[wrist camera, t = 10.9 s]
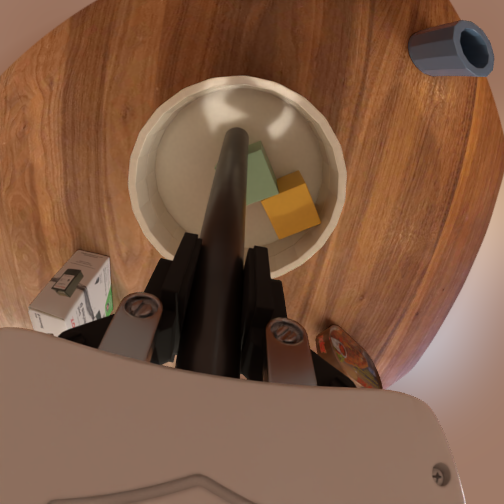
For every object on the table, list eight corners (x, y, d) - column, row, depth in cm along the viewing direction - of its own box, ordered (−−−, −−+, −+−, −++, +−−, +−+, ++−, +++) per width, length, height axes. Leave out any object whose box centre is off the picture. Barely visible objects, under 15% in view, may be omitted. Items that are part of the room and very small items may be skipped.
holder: (411, 23, 19) (456, 9, 12) (448, 45, 19) (496, 41, 12) (404, 62, 21) (450, 57, 14) (442, 84, 22) (490, 87, 15)
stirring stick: (221, 131, 22) (159, 380, 7) (244, 123, 22) (223, 376, 7) (229, 151, 24) (191, 402, 9) (252, 145, 23) (248, 399, 8)
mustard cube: (259, 185, 27) (260, 201, 24) (298, 169, 26) (305, 182, 23) (276, 220, 29) (279, 240, 26) (313, 205, 28) (321, 223, 25)
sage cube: (260, 140, 25) (261, 149, 21) (276, 179, 27) (279, 193, 23) (220, 156, 26) (213, 167, 22) (237, 193, 28) (233, 210, 24)
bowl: (165, 71, 22) (144, 63, 17) (347, 108, 24) (372, 111, 19) (144, 235, 30) (125, 263, 25) (300, 264, 32) (309, 297, 27)
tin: (375, 360, 41) (390, 402, 34) (359, 370, 42) (372, 412, 35) (326, 312, 36) (340, 362, 28) (306, 325, 37) (317, 376, 29)
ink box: (114, 309, 36) (81, 377, 25) (83, 301, 35) (46, 363, 25) (110, 255, 32) (64, 321, 21) (76, 247, 31) (24, 307, 21)
